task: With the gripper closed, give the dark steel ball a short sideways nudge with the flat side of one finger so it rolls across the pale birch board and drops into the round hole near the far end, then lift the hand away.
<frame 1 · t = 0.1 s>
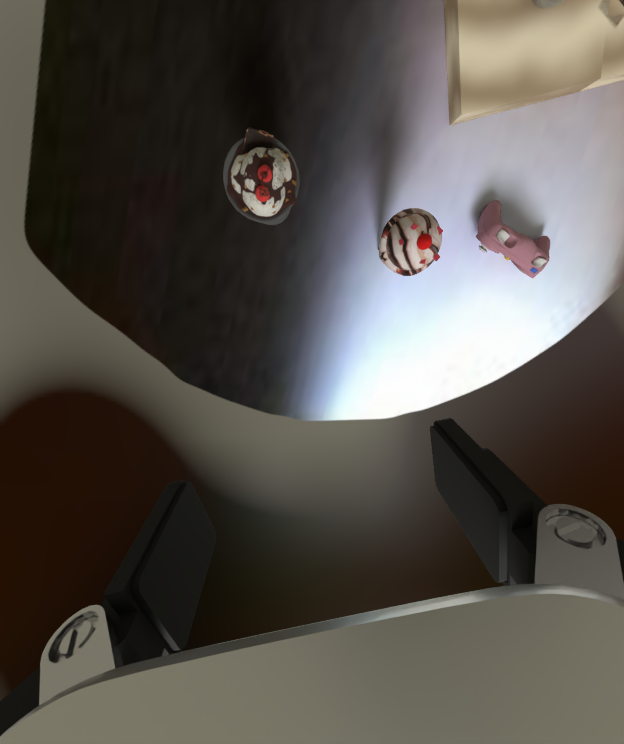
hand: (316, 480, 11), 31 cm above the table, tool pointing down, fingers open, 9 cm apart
sundae: (271, 203, 35), on the table
video game controller: (499, 242, 38), on the table
ice cream cone: (377, 248, 37), on the table
hole board: (560, 1, 30), on the table
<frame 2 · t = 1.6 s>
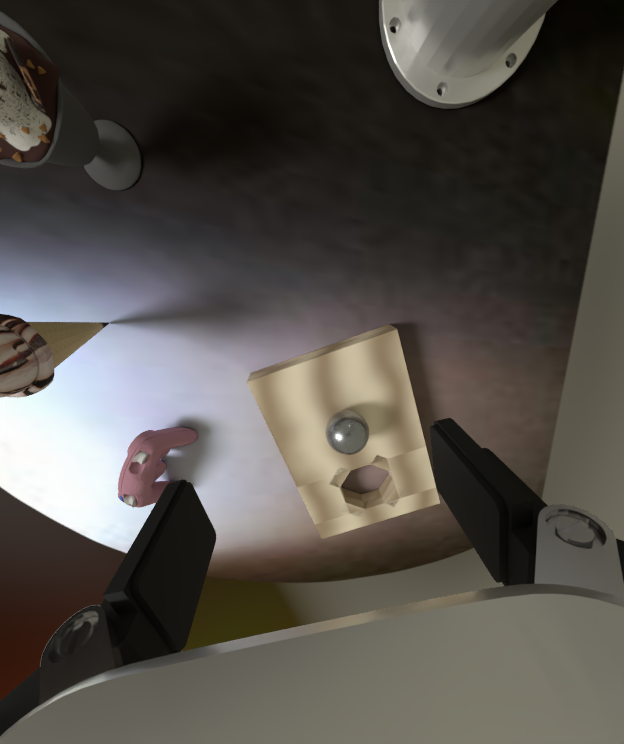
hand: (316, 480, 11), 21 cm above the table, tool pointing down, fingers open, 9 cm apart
sundae: (112, 158, 24), on the table
steel ball: (347, 432, 30), point 5 cm above the table, touching hole board
video game controller: (168, 453, 35), on the table
ice cream cone: (110, 322, 29), on the table
hole board: (350, 436, 35), on the table
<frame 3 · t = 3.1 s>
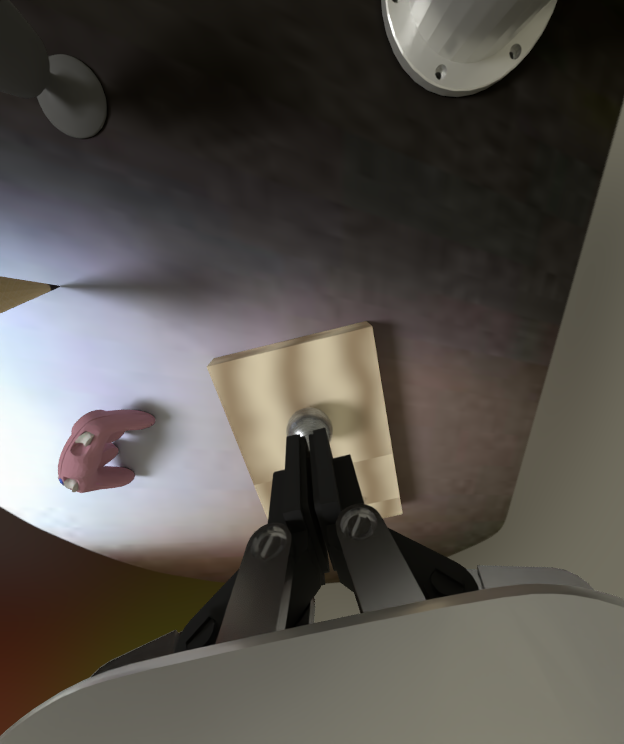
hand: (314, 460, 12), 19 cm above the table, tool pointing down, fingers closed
sundae: (74, 101, 22), on the table
steel ball: (309, 430, 28), point 5 cm above the table, touching hole board
video game controller: (122, 436, 33), on the table
ice cream cone: (62, 286, 27), on the table
hole board: (315, 436, 34), on the table
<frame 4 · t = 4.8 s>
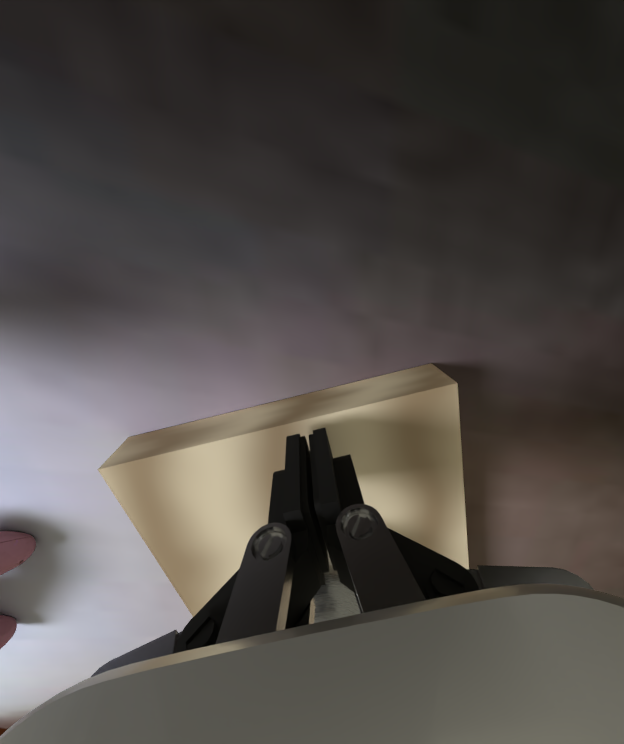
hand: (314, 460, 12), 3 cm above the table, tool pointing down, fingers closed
steel ball: (319, 599, 13), point 5 cm above the table, touching hole board
hole board: (327, 558, 19), on the table
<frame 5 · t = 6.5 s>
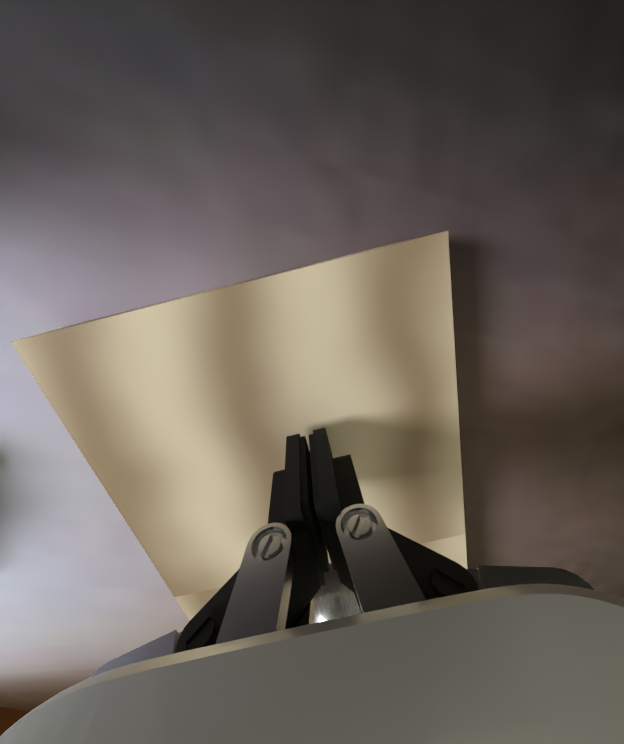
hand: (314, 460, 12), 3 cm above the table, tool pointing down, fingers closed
steel ball: (338, 607, 17), point 2 cm above the table, tilted 64°
hole board: (303, 492, 17), on the table
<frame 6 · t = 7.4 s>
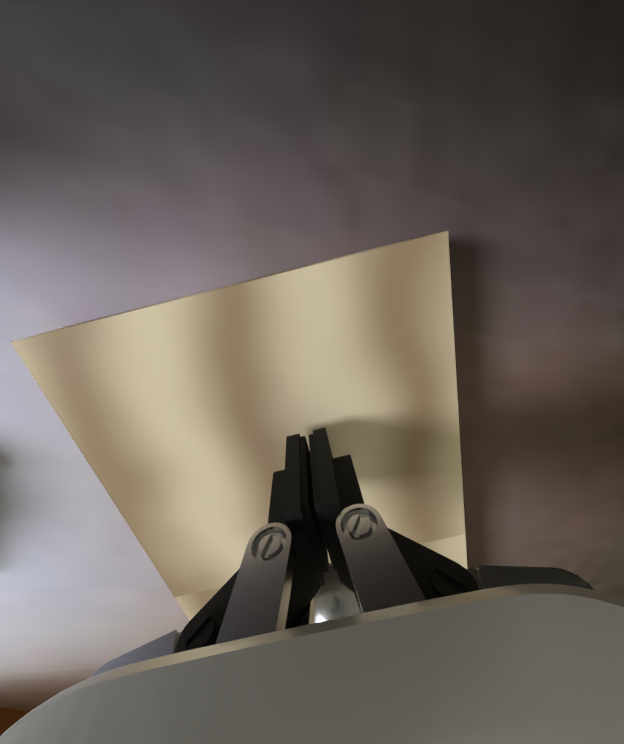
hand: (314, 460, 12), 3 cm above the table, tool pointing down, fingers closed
steel ball: (337, 607, 17), point 2 cm above the table, tilted 65°
hole board: (303, 492, 17), on the table
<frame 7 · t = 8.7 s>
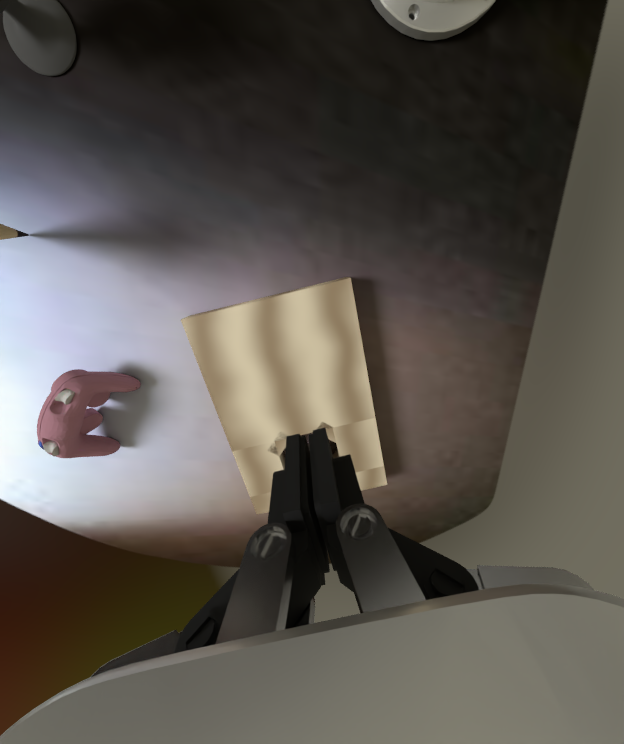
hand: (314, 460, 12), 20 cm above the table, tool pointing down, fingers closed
sundae: (43, 37, 22), on the table
video game controller: (107, 404, 32), on the table
ice cream cone: (31, 235, 26), on the table
hole board: (297, 402, 33), on the table
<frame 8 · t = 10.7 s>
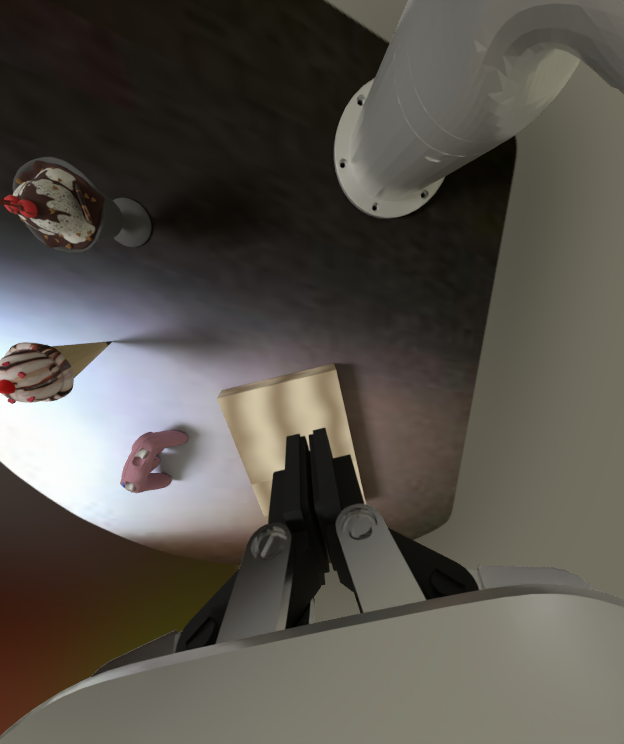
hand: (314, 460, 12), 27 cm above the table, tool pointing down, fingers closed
sundae: (129, 223, 32), on the table
video game controller: (162, 450, 43), on the table
ice cream cone: (113, 341, 37), on the table
hole board: (298, 447, 44), on the table
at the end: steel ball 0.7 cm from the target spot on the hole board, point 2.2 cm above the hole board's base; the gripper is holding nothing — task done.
